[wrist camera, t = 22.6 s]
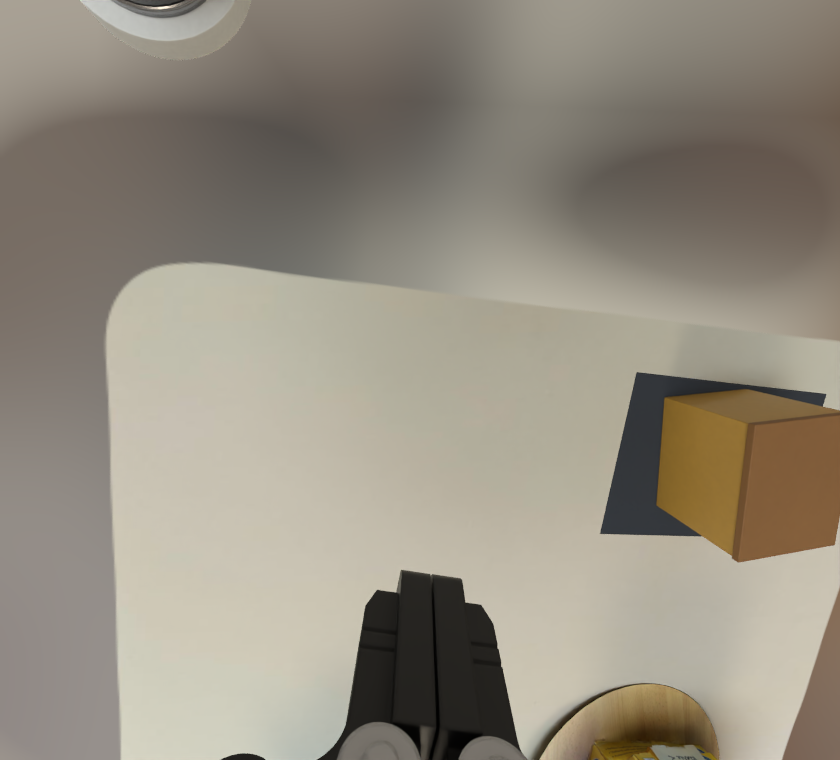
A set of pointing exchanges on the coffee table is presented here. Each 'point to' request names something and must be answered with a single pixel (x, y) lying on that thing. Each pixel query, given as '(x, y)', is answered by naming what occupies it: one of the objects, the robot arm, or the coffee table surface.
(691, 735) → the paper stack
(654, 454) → the mat
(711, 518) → the toy box
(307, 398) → the coffee table surface
